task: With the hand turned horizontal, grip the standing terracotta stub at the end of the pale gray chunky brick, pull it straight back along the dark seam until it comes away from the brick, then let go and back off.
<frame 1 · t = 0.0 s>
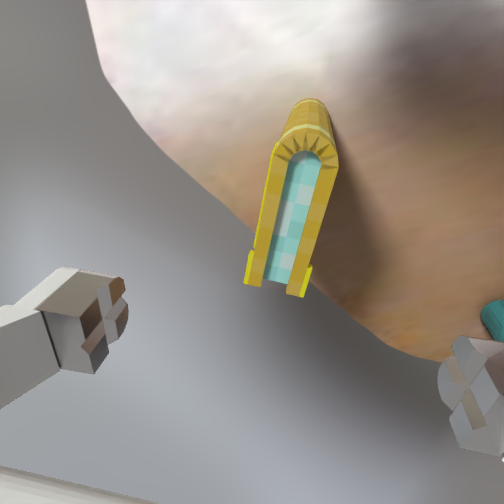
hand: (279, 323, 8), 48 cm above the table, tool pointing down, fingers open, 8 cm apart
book: (300, 155, 53), on the table
beverage bottle: (495, 306, 62), on the table
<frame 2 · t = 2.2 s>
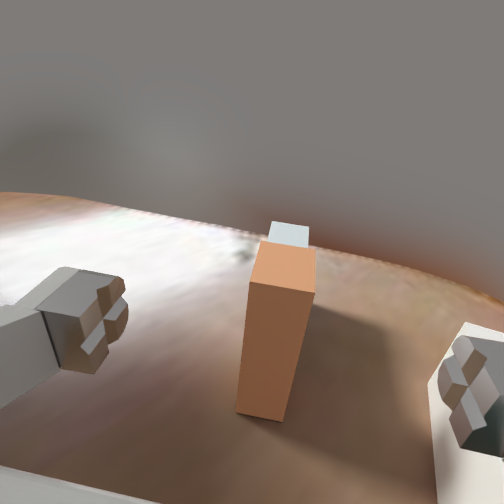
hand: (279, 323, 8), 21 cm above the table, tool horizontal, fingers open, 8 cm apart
pale gray chunky brick: (273, 326, 37), on the table
stub: (272, 336, 26), point 7 cm above the table, slide at 0.0 cm
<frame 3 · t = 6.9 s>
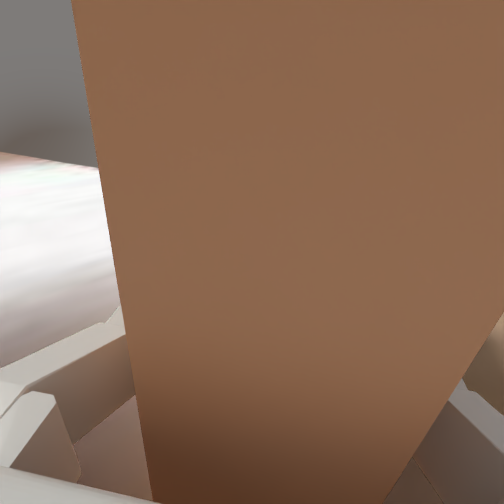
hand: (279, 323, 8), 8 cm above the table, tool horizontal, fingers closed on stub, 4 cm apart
stub: (274, 362, 8), point 7 cm above the table, slide at 0.0 cm, touching gripper
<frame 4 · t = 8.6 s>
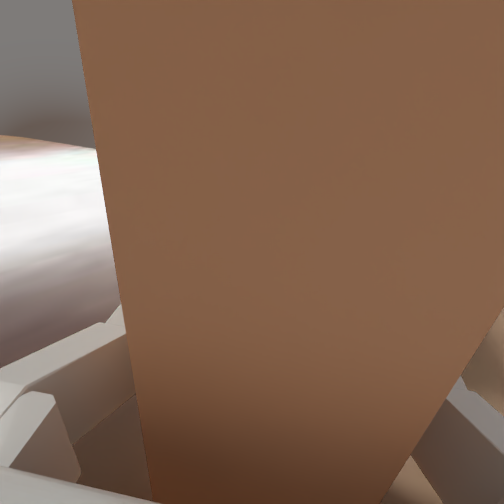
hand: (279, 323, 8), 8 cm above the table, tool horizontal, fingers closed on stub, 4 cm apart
stub: (274, 361, 8), point 7 cm above the table, slide at 6.1 cm, touching gripper
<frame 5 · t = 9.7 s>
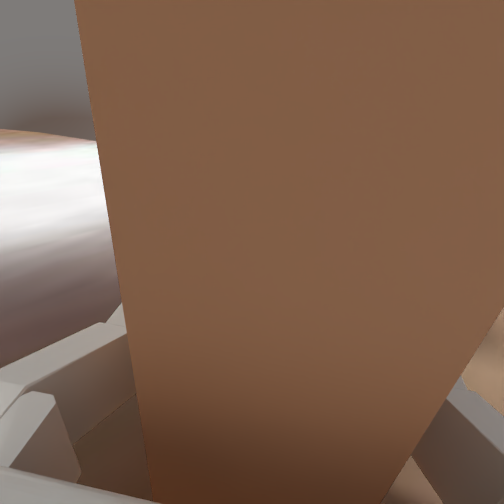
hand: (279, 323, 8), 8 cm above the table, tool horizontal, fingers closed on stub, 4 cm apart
stub: (274, 361, 8), point 7 cm above the table, slide at 9.9 cm, touching gripper
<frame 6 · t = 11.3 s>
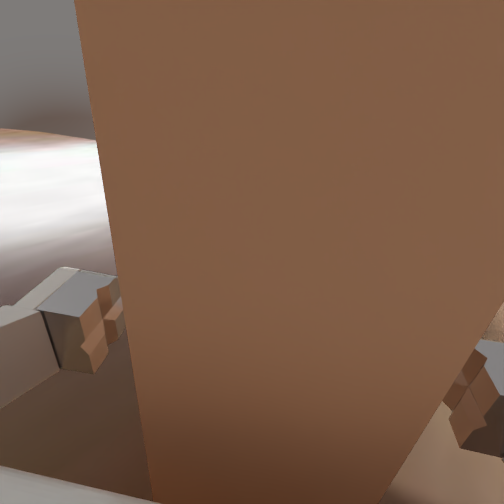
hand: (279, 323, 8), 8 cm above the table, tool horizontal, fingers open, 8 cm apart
stub: (273, 360, 8), point 7 cm above the table, slide at 10.3 cm
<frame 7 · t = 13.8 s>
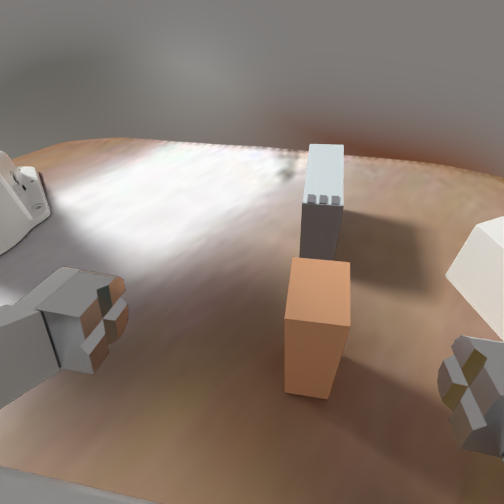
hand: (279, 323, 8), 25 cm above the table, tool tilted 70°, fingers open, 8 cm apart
pale gray chunky brick: (318, 234, 44), on the table
stub: (312, 337, 27), point 7 cm above the table, slide at 10.3 cm
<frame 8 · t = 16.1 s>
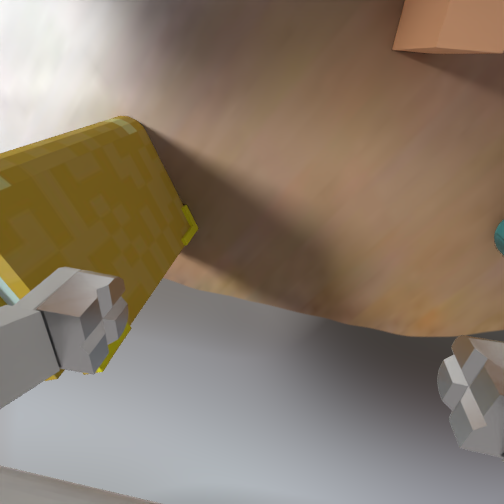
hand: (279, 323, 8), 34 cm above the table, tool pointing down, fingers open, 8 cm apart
stub: (446, 13, 25), point 7 cm above the table, slide at 10.3 cm
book: (150, 180, 45), on the table
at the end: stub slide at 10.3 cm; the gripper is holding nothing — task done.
